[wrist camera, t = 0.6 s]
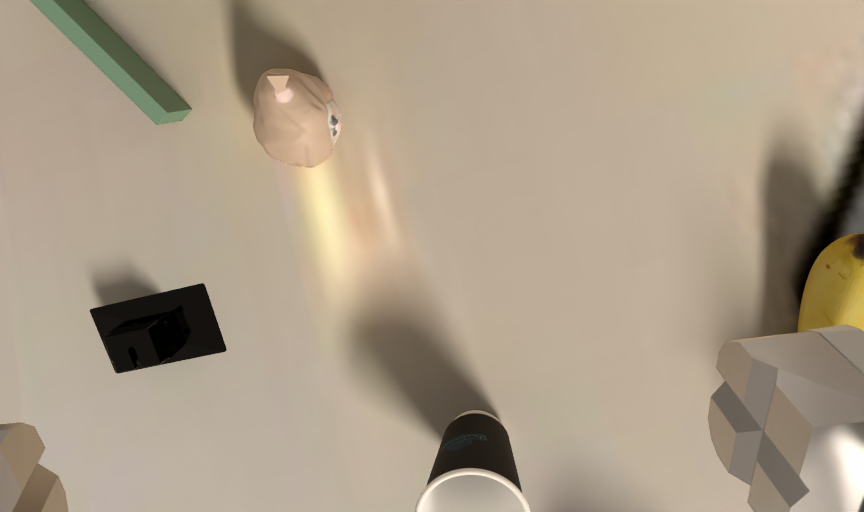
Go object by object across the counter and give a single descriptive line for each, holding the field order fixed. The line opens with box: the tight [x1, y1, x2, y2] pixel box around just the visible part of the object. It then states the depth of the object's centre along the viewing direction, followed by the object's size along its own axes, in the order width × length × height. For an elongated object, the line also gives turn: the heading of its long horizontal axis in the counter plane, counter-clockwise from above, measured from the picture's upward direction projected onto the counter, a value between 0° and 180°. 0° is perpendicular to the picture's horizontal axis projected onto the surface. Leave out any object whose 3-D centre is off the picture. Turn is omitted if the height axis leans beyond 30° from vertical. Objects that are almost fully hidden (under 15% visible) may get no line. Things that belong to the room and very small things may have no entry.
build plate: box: [90, 283, 226, 373], centre depth 54 cm, size 13×8×5 cm, turn 104°
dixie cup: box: [415, 410, 530, 512], centre depth 51 cm, size 8×8×11 cm
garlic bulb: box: [253, 68, 341, 168], centre depth 46 cm, size 7×6×8 cm
